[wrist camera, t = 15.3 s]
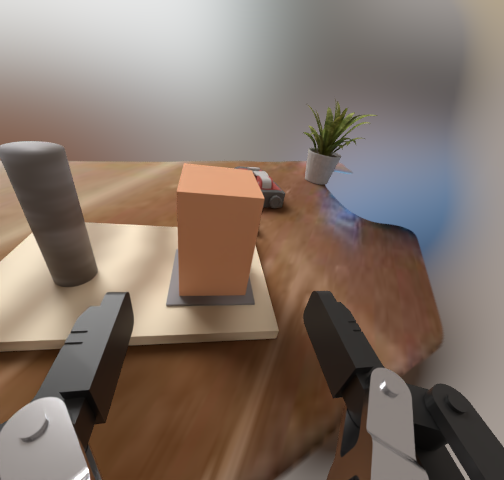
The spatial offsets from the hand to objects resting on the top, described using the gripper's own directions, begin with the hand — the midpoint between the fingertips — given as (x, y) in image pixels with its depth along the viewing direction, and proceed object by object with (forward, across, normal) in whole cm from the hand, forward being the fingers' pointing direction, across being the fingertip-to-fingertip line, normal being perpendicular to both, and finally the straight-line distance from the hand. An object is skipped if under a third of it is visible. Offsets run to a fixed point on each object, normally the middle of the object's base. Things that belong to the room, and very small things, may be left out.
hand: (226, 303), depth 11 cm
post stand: (+10, +6, +8) cm, 14 cm away
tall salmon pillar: (+9, 0, +7) cm, 11 cm away
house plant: (+41, -25, +8) cm, 49 cm away
